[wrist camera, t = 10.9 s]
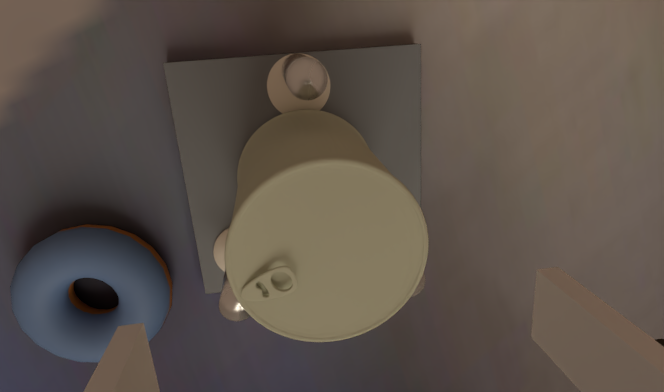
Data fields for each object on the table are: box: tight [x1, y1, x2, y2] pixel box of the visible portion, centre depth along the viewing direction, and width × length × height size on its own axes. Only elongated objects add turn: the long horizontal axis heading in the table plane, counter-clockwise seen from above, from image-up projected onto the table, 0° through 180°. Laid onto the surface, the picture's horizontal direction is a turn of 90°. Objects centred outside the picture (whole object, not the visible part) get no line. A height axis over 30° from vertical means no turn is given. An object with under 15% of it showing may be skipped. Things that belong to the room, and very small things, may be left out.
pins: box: [219, 53, 425, 321], centre depth 27 cm, size 14×12×7 cm
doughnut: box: [10, 224, 172, 362], centre depth 31 cm, size 10×10×5 cm
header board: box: [163, 44, 421, 294], centre depth 31 cm, size 16×16×1 cm
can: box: [224, 109, 428, 342], centre depth 25 cm, size 9×9×12 cm
